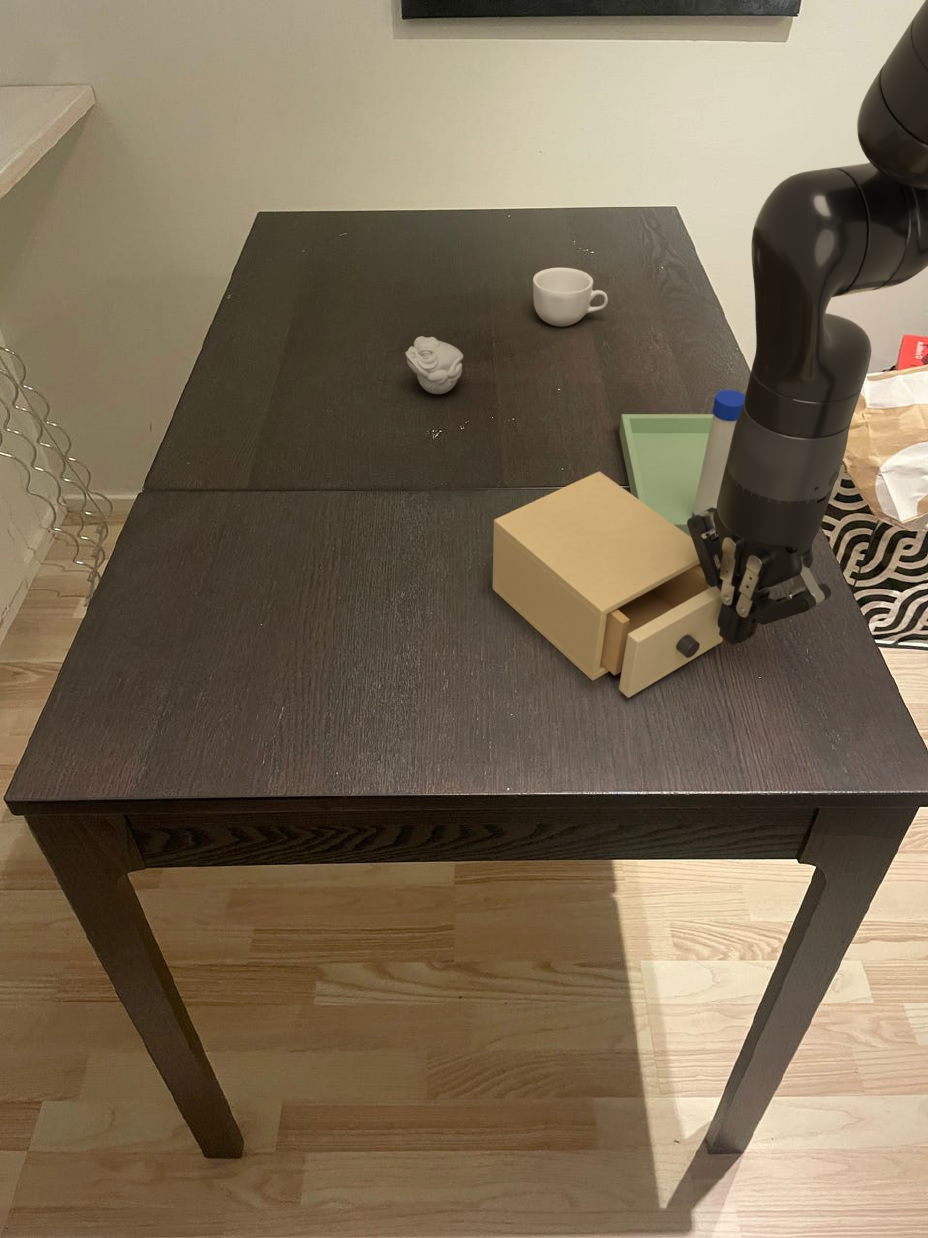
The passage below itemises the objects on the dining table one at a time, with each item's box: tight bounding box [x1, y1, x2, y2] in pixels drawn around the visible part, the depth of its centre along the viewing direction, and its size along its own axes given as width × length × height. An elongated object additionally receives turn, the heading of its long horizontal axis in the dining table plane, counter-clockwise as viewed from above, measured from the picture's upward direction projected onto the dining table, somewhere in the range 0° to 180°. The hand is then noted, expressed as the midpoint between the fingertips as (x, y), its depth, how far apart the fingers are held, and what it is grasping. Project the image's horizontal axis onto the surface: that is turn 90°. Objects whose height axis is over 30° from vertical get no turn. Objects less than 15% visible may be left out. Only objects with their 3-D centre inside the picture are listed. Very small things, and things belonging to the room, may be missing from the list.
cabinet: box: [492, 471, 702, 682], centre depth 86 cm, size 14×12×8 cm
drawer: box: [600, 565, 724, 698], centre depth 83 cm, size 15×11×7 cm
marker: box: [692, 389, 746, 517], centre depth 92 cm, size 3×3×14 cm
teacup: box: [532, 267, 609, 327], centre depth 126 cm, size 10×8×5 cm
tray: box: [618, 413, 713, 538], centre depth 101 cm, size 20×13×2 cm, turn 0°
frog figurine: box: [404, 335, 464, 395], centre depth 113 cm, size 6×7×7 cm
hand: (733, 636), depth 79 cm, fingers closed
